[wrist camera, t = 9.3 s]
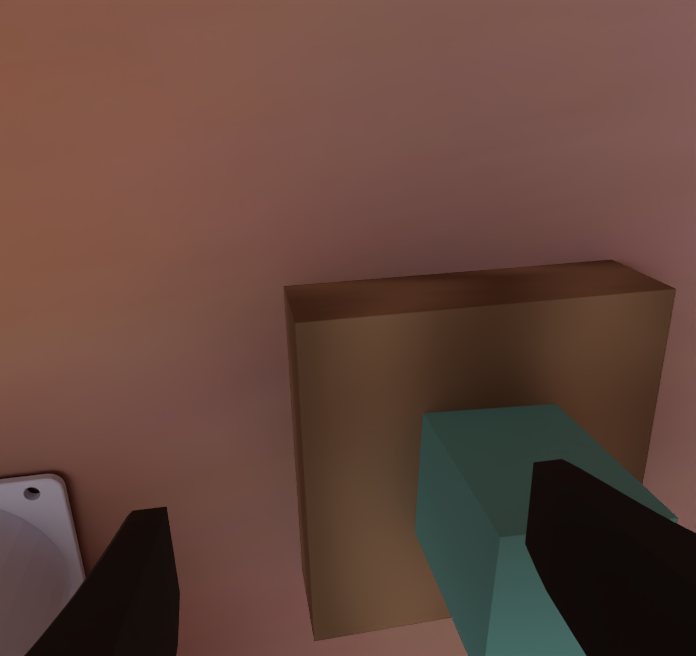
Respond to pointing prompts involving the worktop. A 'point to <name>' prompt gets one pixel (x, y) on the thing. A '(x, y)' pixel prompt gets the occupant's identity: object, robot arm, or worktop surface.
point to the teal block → (500, 520)
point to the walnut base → (446, 404)
